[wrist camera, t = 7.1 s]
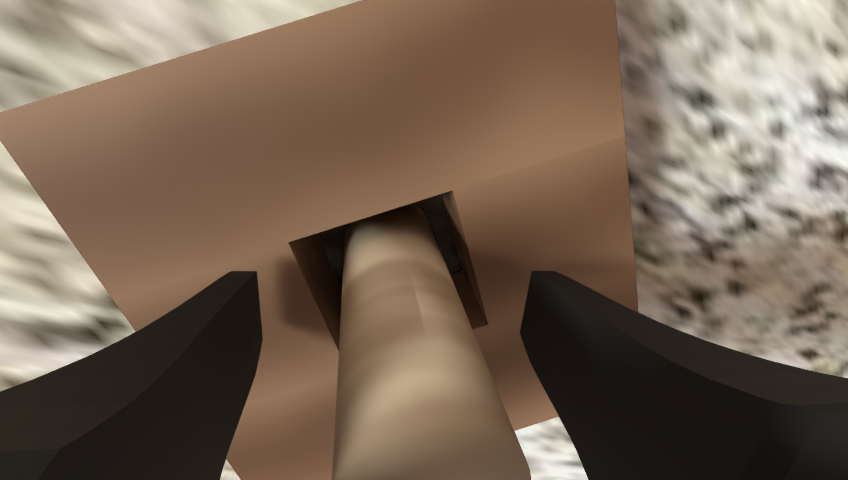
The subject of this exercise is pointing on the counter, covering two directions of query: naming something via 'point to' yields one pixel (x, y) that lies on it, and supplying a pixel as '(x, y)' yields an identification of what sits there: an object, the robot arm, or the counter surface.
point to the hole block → (348, 182)
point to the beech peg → (412, 365)
